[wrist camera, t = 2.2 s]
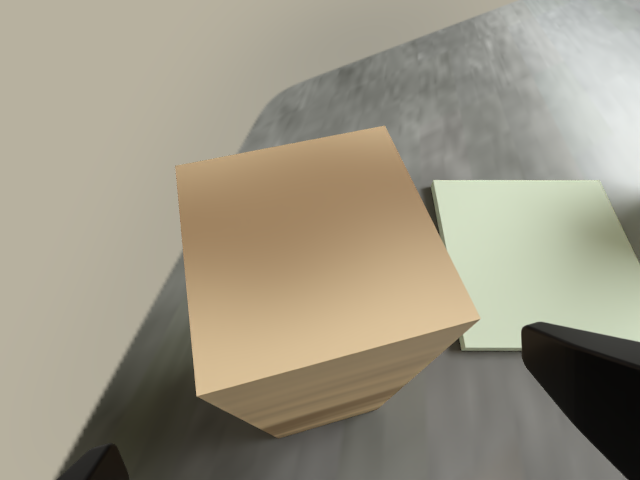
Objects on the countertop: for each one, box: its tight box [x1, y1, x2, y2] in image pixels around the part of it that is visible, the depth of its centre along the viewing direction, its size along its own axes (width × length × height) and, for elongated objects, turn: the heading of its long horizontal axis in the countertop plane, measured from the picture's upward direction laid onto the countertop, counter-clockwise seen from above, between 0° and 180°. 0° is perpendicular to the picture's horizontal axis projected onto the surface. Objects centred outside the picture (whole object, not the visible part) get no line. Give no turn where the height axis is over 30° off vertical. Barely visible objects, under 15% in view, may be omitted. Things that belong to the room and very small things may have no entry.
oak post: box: [175, 126, 481, 438], centre depth 12 cm, size 4×4×12 cm
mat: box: [431, 180, 640, 351], centre depth 20 cm, size 10×10×1 cm
